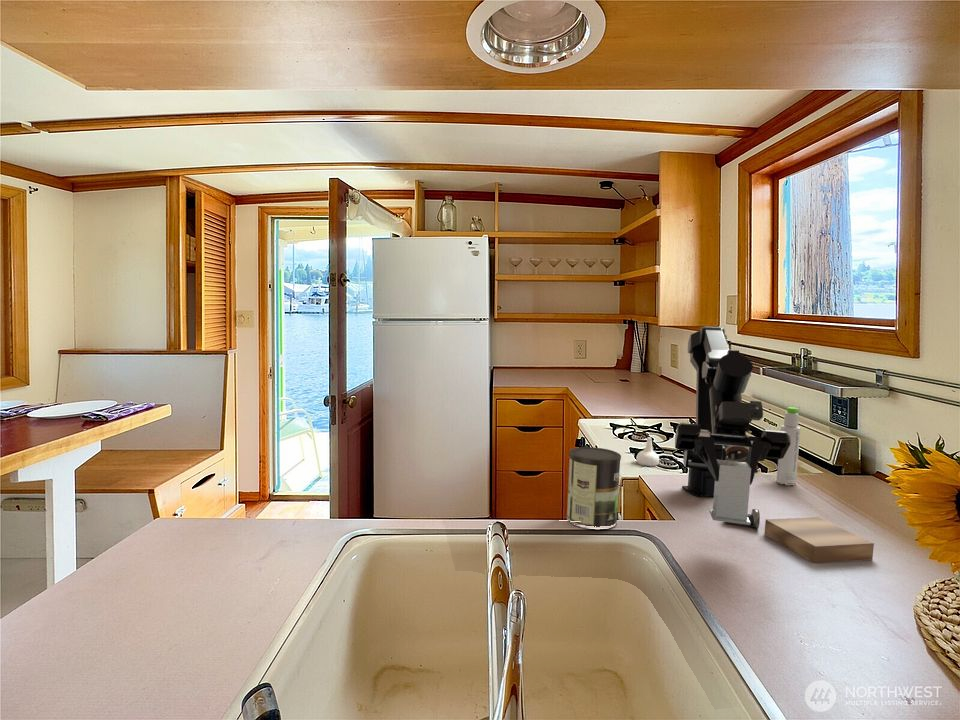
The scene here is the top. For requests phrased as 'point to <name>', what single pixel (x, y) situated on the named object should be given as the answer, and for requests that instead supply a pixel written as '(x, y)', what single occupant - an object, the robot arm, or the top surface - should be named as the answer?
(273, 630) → the top surface
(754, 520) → the bolt
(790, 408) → the bottle
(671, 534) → the top surface
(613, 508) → the coffee can
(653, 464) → the garlic bulb
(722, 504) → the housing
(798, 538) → the stand
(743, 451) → the pottery mug
